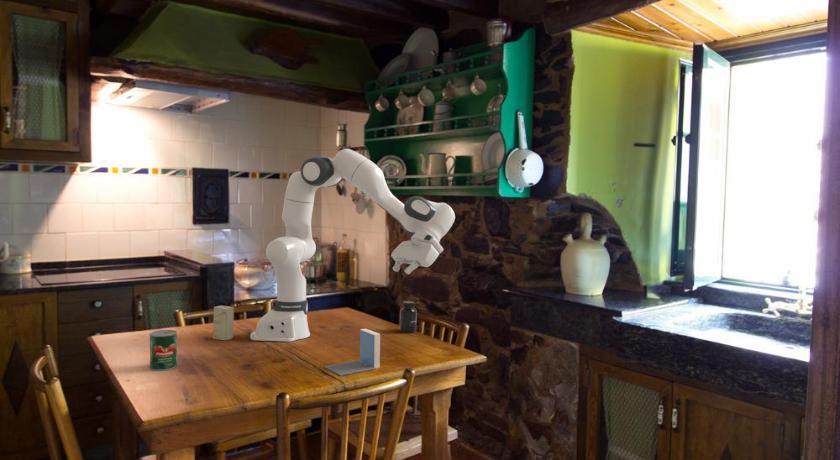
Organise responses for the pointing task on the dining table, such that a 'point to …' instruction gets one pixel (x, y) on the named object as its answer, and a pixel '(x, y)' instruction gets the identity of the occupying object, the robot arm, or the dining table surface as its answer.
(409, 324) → the supplement bottle
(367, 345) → the tile
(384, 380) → the dining table surface
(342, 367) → the mat
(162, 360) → the canned tomato
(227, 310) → the skincare box
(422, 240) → the robot arm
